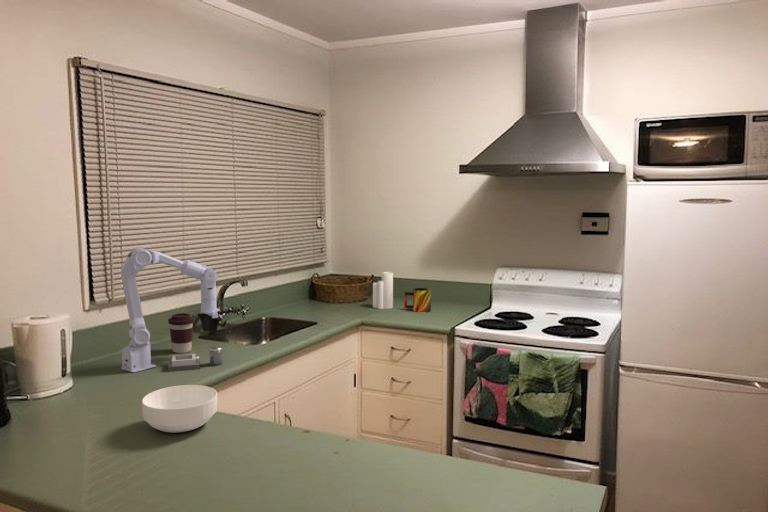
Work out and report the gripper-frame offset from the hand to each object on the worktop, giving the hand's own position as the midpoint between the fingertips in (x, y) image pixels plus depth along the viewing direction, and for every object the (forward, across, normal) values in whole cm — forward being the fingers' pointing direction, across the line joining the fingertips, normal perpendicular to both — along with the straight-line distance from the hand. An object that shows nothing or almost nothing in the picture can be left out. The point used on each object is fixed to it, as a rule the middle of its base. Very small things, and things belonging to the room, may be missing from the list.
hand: (209, 333), depth 227 cm
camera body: (+10, -6, +12) cm, 16 cm away
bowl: (+10, -61, +28) cm, 68 cm away
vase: (+10, +48, -114) cm, 124 cm away
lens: (+10, -9, +1) cm, 13 cm away
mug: (+10, +30, -125) cm, 129 cm away
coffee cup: (+10, +17, +6) cm, 20 cm away
